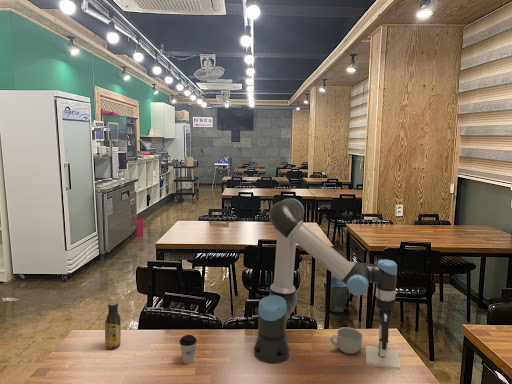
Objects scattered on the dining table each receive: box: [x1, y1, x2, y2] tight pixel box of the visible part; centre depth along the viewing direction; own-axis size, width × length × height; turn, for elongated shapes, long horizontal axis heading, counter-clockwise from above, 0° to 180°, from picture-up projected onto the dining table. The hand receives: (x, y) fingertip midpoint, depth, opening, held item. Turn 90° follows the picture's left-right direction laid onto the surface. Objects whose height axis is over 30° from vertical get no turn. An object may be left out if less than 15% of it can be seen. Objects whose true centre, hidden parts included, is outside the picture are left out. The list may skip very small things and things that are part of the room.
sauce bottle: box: [104, 300, 122, 350], centre depth 159 cm, size 7×6×20 cm
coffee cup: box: [179, 334, 198, 365], centre depth 149 cm, size 7×7×10 cm
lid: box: [365, 338, 401, 371], centre depth 153 cm, size 13×13×8 cm
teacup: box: [330, 326, 363, 355], centre depth 159 cm, size 14×11×8 cm
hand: (382, 347), depth 153 cm, fingers open, 12 cm apart
